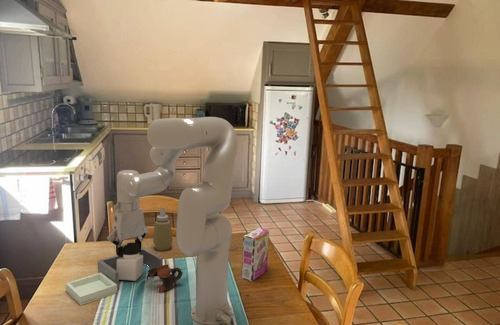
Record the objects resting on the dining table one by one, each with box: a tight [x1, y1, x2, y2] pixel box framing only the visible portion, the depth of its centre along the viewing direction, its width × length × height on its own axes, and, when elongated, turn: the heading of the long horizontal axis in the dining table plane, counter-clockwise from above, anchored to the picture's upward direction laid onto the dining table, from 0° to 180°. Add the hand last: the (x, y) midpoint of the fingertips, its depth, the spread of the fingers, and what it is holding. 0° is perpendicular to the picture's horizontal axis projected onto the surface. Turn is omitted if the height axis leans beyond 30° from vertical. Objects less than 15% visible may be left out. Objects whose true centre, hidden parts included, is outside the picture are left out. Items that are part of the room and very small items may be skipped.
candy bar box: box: [241, 227, 270, 282], centre depth 145 cm, size 11×5×16 cm, turn 149°
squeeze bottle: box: [152, 207, 174, 252], centre depth 166 cm, size 8×8×18 cm
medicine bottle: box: [116, 241, 144, 281], centre depth 141 cm, size 7×7×12 cm
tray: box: [65, 272, 118, 306], centre depth 130 cm, size 12×12×3 cm
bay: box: [97, 247, 164, 290], centre depth 143 cm, size 13×18×6 cm
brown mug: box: [146, 264, 184, 293], centre depth 136 cm, size 12×9×8 cm
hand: (129, 253), depth 141 cm, fingers closed on medicine bottle, 6 cm apart
